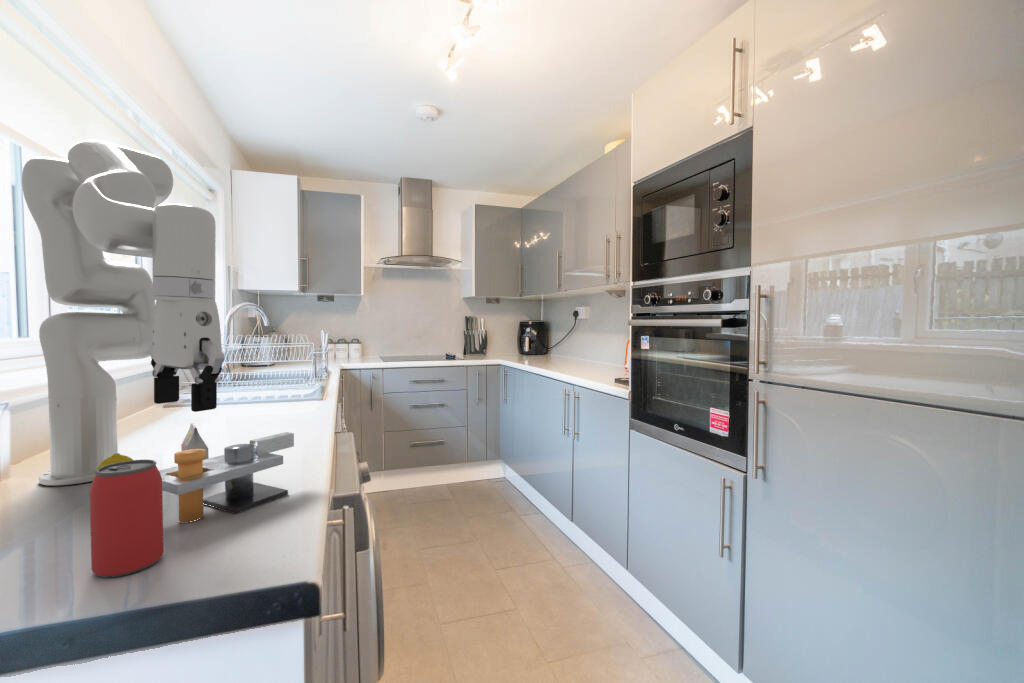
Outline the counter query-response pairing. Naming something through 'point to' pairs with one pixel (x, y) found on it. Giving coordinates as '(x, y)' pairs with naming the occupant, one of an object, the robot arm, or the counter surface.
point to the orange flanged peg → (188, 466)
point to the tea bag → (194, 440)
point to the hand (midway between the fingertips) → (184, 406)
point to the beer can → (126, 518)
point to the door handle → (235, 474)
